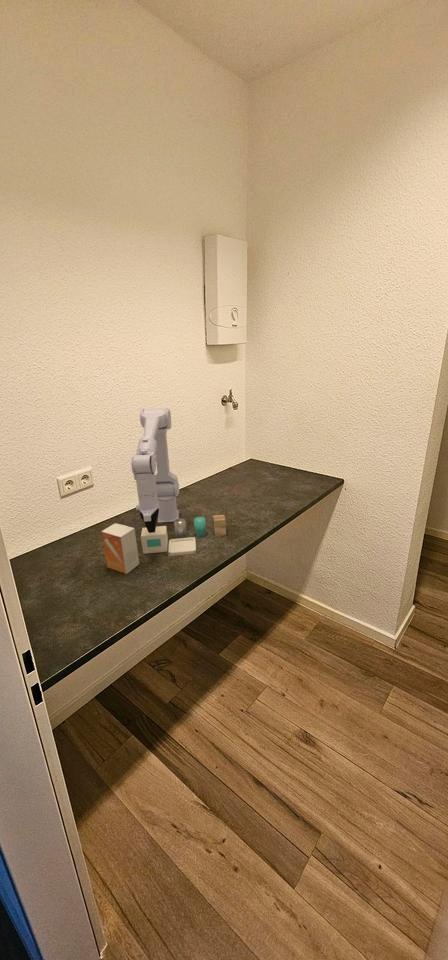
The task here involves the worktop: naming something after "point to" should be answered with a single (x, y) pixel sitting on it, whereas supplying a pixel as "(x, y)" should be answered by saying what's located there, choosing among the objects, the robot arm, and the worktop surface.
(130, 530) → the small box
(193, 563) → the worktop surface
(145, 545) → the block
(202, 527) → the cylinder
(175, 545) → the tray
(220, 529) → the oak block
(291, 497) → the worktop surface
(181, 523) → the cylinder
